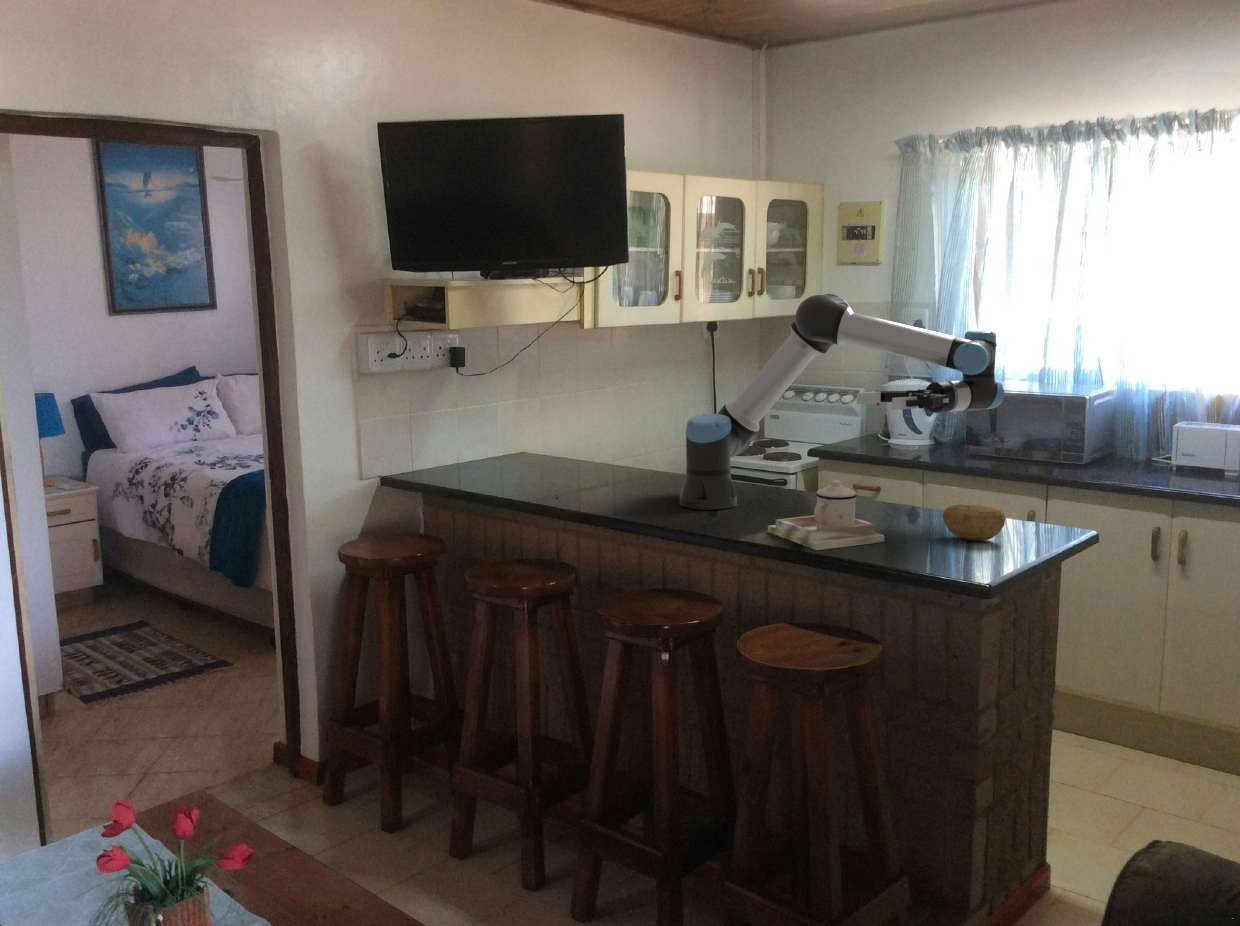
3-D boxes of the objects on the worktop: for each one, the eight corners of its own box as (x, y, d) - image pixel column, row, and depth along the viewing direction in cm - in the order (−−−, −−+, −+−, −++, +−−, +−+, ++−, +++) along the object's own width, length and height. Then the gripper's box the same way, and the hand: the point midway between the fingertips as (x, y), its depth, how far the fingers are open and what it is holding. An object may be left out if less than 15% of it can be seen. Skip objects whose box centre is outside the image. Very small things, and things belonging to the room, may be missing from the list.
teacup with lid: (831, 524, 253) (832, 476, 252) (863, 531, 247) (865, 480, 245) (798, 533, 246) (799, 482, 244) (831, 539, 239) (832, 487, 237)
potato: (954, 531, 252) (955, 498, 251) (1011, 541, 242) (1013, 506, 241) (932, 538, 246) (934, 504, 244) (991, 548, 236) (993, 512, 234)
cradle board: (768, 531, 254) (768, 517, 253) (832, 524, 261) (832, 510, 260) (816, 550, 236) (816, 534, 235) (883, 541, 243) (884, 526, 242)
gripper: (982, 417, 252) (908, 422, 244) (912, 407, 275) (843, 411, 267) (983, 385, 251) (909, 389, 243) (913, 377, 274) (843, 381, 265)
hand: (874, 401), depth 255 cm, fingers open, 13 cm apart
